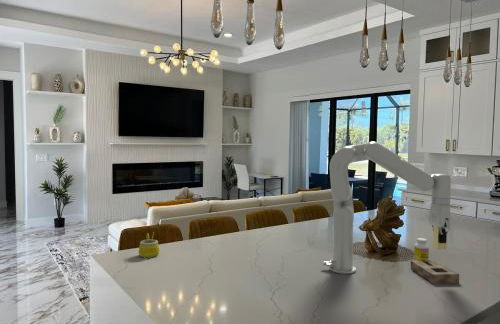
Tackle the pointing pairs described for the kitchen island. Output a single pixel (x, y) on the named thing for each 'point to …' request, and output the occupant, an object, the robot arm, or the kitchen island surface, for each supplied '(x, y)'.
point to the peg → (436, 239)
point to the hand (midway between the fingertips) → (439, 241)
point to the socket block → (434, 271)
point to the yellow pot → (149, 248)
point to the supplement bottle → (421, 250)
